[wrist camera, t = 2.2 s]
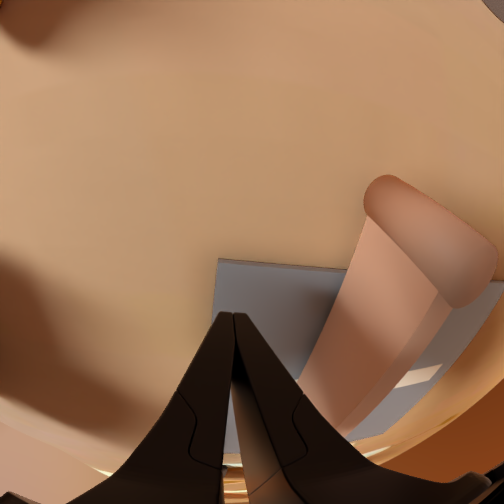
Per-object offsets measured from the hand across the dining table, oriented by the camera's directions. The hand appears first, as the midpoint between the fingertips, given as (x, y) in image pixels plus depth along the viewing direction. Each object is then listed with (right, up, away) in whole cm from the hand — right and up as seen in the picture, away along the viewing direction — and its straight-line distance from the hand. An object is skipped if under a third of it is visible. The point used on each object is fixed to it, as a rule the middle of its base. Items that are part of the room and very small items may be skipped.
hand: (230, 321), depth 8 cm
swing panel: (+5, -1, +4) cm, 7 cm away
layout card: (+8, -9, +11) cm, 16 cm away
